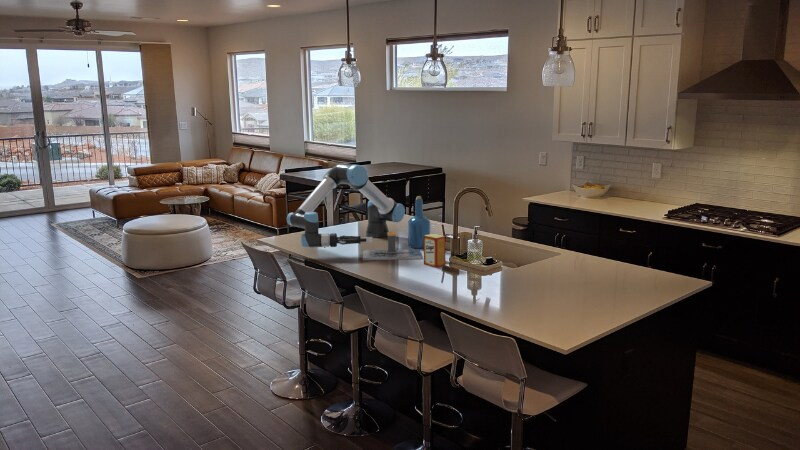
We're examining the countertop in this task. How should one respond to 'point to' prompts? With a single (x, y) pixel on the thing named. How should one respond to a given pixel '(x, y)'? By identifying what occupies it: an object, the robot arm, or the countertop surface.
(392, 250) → the breaker handle
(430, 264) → the baking soda box
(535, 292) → the countertop surface
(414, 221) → the wine bottle
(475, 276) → the countertop surface
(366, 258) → the panel
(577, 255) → the countertop surface
